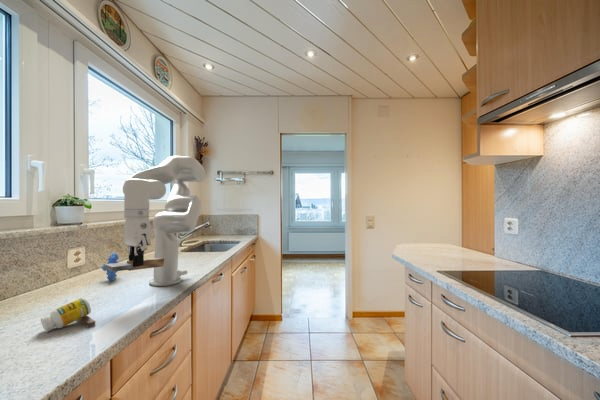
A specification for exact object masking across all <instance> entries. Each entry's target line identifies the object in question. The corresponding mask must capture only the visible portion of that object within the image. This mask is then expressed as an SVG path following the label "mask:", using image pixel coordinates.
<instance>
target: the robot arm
mask: <svg viewBox="0 0 600 400" xmlns="http://www.w3.org/2000/svg"><path fill="white" fill-rule="evenodd" d="M205 178H206V170H205V168H204V166H203V165H202V164H201V163H200V162H199V161H198V159H196V158H195V157H193V156H189V155H188V156H186V155H185V156H184V155H183V156H182V155H172V156H168V157H167V158H166V159H165V160H163V161H162V162H161V163H159V165H157V166H154V167H151V168H148V169H144V170H141V171H137V172H136V173H134V174H132V175H130V177H129V178H127V179H125V181H124V183H123V185H122V192H123V194H124V196H123V198H124V202H123V204H124V206H123V208H124V210H123V213H124V214H123V218H124V219H125V221H124V227H123V228H124V229H123V242H124V244H125V245H126V247H127V249H128V250H127V253H128V261H131V260H133V267H138V266H142V265H143V264H144V259H145V257H144V255H145V251H146V250H148V246H150V245H151V244H152V233H151V232H152V230H151V222H150V200H160V199H162V198H164V197H165V195H166V194H167V186H166V185H168V184H171V191H170V193H169V195H168V197H167V200H166V202H165V204H164V211H160V212H158V213H156V214H155V215H154V217H153V220H152V224H153V225H152V227H153V230H154V232H153V233H154V257H153V258H164V266H162V267H154V268H153V278H152V279H150V280H149V281H148V282H149V285H150V286H153V287H154V286H155V287H166V286H172V285H176V284H179V283H180V282H182V276H186V275H188V270H179V269H178V267H179V266H178V265H179V246H180V245H179V240H178V237H177V236H176V234H189V233H192V232H193V231H194V230H195V228H196V225H197V222H198V220H199V217H200V214H201V212H202V201H201V199H200V197H199V196H197V195H190V194H191V191H190V189H189V187H188V185H186V183H185V182H188V183H201V182H203V181H204V180H205Z"/></svg>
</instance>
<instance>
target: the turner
mask: <svg viewBox="0 0 600 400" xmlns="http://www.w3.org/2000/svg"><path fill="white" fill-rule="evenodd" d="M104 264H105V266H104V269H106V271H107V270H108V271H111V272H115V271H117V272H119V271H120V272H121V271H129V272H130V271H137V270H144V269H145V270H146V269H154V267H162V266H164V258H154V257H151V258H144V264H143V265H142V266H138V267H133V260H131V261H129V260H126V261H125V262H123V261H121V262H118V263H113V264H107V263H104Z"/></svg>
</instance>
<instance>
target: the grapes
mask: <svg viewBox="0 0 600 400" xmlns="http://www.w3.org/2000/svg"><path fill="white" fill-rule="evenodd" d="M107 260H108V261H107V263H104V264H103V265H102V266H101V267H100V268H101V269H102V270H103V271H104V272H106V275H107V276H106V278H107V280H108V281H110V282H112V281H114V280H115V279H116V277H118V275H117V272H118V271H115V272H111V271H108V270H106V269H104V266H105V264H113V263H119V262H118V260H119V255H118V254H117V253H116V252H113V253H111V254H110V255H109V258H107Z"/></svg>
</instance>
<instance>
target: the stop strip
mask: <svg viewBox="0 0 600 400" xmlns="http://www.w3.org/2000/svg"><path fill="white" fill-rule="evenodd" d="M77 321H79V323H81V324H82V325H84V326H86V327H87V328H92V327H95V326H96V320H94V319H93V318H91V317H90V316H89V315H86V316H84V317H82V318H80V319H78V320H77Z"/></svg>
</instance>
